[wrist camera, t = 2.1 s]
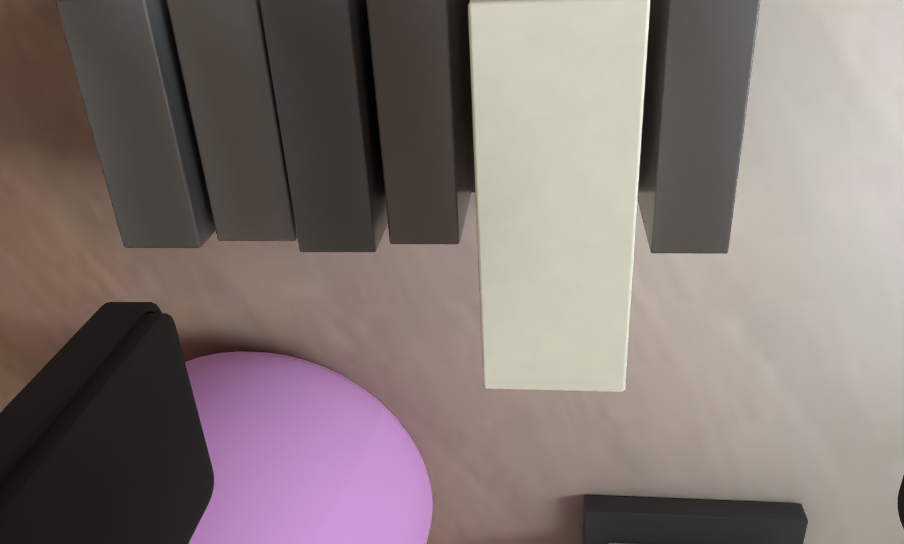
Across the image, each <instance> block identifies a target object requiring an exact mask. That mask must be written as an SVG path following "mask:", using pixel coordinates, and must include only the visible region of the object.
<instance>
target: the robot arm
mask: <svg viewBox="0 0 904 544" xmlns="http://www.w3.org/2000/svg"><path fill="white" fill-rule="evenodd" d="M213 488H214V472H213V468H212V464H211V460H210V456H209V452H208V449H207V445H206V441H205V437H204V433H203V429H202V426H201V422H200V418H199V414H198V410H197V406H196V403H195V399H194V395H193V391H192V387H191V384H190V380H189V376H188V372H187V368H186V364H185V361H184V357H183V353H182V349H181V345H180V341H179V338H178V334H177V330H176V326H175V323H174V321H173V319H172V317H171V316H170V315H168V314H162V313H161V310H160V309H159V307H158V306H157V305H156V304H154V303H152V302H109V303H106V304H104V305H103V306H102V307H101V308H100V309H99V310H98V311H97V312H96V313H95V314H94V315H93V316H92V317H91V318H90V319H89V320H88V321H87V322H86V323H85V324H84V325H83V326H82V328H81V329H80V330H79V331H78V332H77V333H76V334H75V335H74V336H73V337H72V338H71V339H70V340H69V341H68V342H67V343H66V344H65V345H64V346H63V348H62V349H61V350H60V351H59V352H58V353H57V354H56V355H55V356H54V357H53V358H52V359H51V360H50V361H49V362H48V363H47V364H46V365H45V366H44V367H43V369H42V370H41V371H40V372H39V373H38V374H37V375H36V376H35V377H34V378H33V379H32V380H31V381H30V382H29V383H28V384H27V385H26V386H25V387H24V389H23V390H22V391H21V392H20V393H19V394H18V395H17V396H16V397H15V398H14V399H13V400H12V401H11V402H10V403H9V404H8V405H7V406H6V407H5V409H4V410H3V411H2V412H1V413H0V544H189V542H190V540H191V538H192V536H193V534H194V532H195V530H196V528H197V526H198V524H199V522H200V520H201V518H202V516H203V514H204V512H205V510H206V508H207V506H208V504H209V502H210V499H211V497H212V493H213ZM898 512H899V517H900V521H901V523H902V526H903V528H904V476H903V480H902V483H901V486H900V490H899V494H898Z"/></svg>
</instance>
